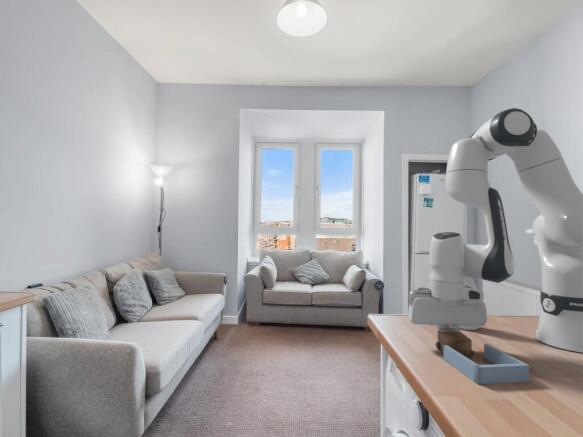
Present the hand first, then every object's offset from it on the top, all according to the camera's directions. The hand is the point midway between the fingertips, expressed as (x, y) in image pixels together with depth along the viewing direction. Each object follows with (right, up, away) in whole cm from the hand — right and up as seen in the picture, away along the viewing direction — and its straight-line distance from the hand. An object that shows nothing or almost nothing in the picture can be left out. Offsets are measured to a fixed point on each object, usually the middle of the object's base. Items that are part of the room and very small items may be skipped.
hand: (446, 340), depth 85 cm
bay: (+2, -1, -14) cm, 14 cm away
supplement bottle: (+4, -3, +24) cm, 24 cm away
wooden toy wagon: (0, -2, -4) cm, 4 cm away
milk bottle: (+15, -3, +17) cm, 23 cm away
